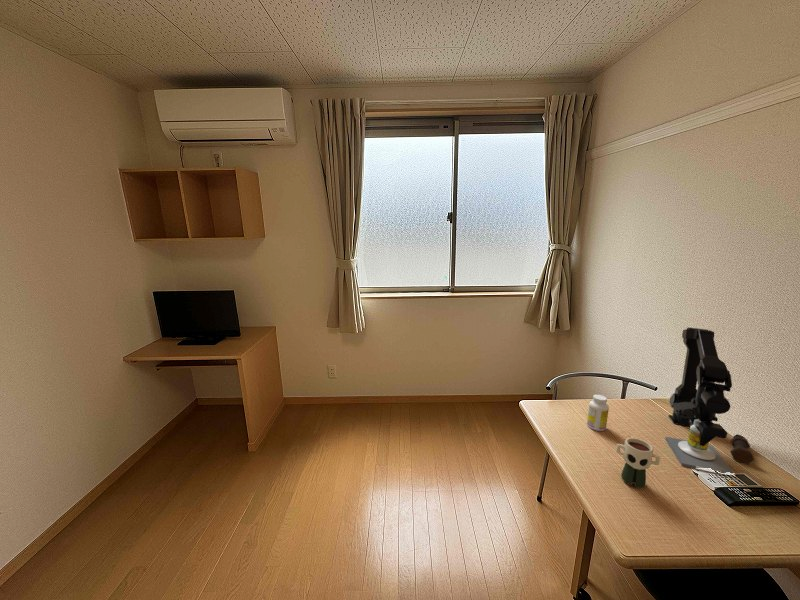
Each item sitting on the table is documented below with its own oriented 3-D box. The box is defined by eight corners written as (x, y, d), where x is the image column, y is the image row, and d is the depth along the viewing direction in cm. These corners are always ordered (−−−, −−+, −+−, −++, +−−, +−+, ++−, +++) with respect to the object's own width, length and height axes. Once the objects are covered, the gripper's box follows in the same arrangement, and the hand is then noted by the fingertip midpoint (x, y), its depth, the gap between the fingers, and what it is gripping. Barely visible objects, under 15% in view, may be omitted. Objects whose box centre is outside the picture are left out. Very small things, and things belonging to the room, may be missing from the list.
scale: (665, 438, 127) (665, 434, 127) (712, 448, 122) (712, 443, 122) (682, 466, 112) (682, 462, 112) (736, 478, 107) (737, 473, 107)
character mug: (611, 481, 105) (617, 444, 103) (612, 468, 111) (618, 432, 109) (655, 496, 100) (662, 457, 97) (653, 481, 105) (660, 444, 103)
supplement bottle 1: (606, 425, 136) (610, 396, 133) (605, 433, 130) (610, 403, 128) (587, 420, 139) (591, 391, 137) (585, 428, 134) (589, 398, 131)
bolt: (740, 448, 125) (743, 467, 114) (725, 437, 128) (726, 455, 117) (754, 439, 123) (758, 457, 112) (738, 428, 125) (741, 445, 114)
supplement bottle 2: (711, 451, 116) (716, 426, 115) (698, 453, 115) (703, 427, 114) (695, 441, 122) (700, 417, 120) (682, 443, 121) (687, 419, 119)
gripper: (668, 384, 126) (661, 422, 129) (688, 408, 109) (680, 451, 112) (705, 389, 122) (697, 428, 125) (732, 415, 105) (722, 459, 108)
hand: (698, 440), depth 118 cm, fingers closed on supplement bottle 2, 5 cm apart
